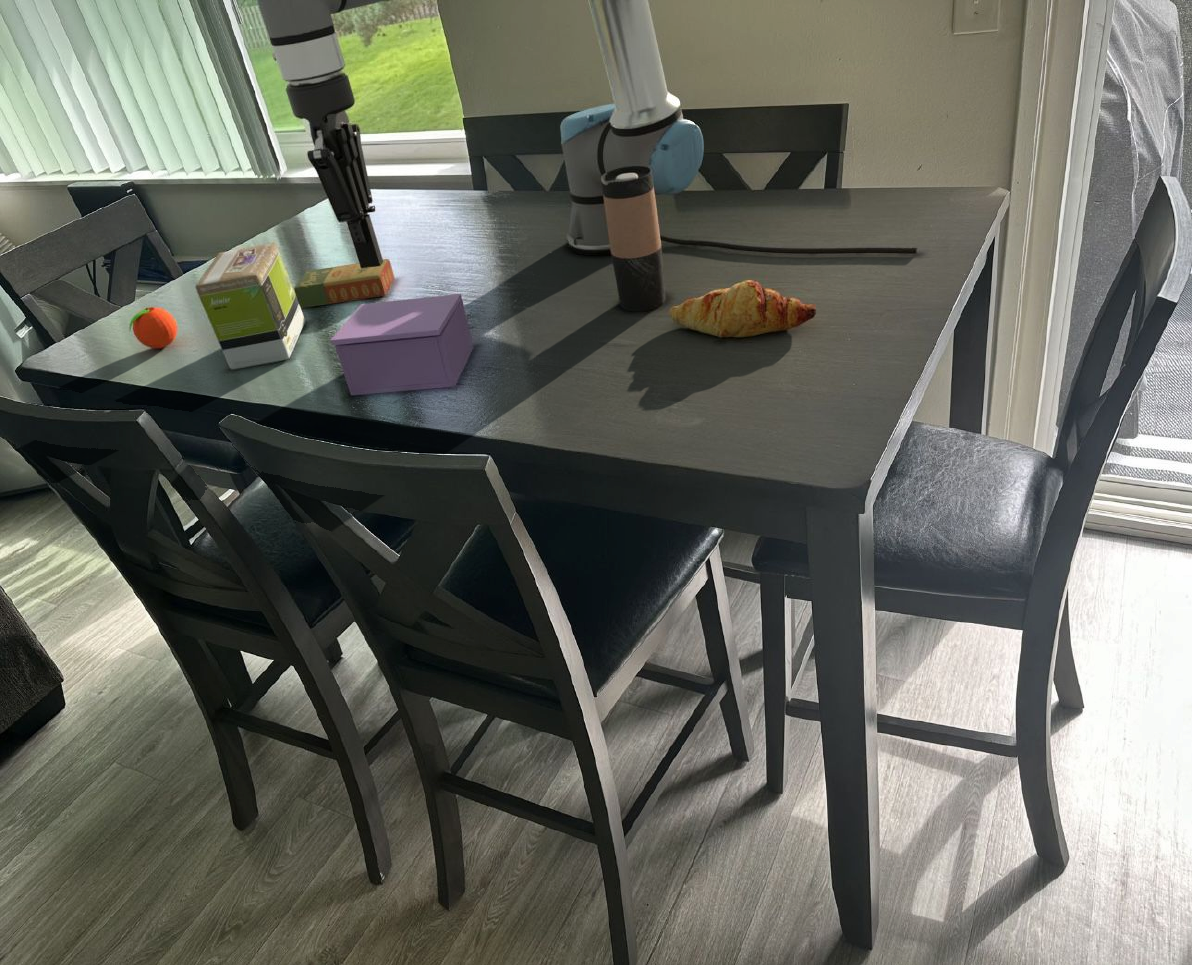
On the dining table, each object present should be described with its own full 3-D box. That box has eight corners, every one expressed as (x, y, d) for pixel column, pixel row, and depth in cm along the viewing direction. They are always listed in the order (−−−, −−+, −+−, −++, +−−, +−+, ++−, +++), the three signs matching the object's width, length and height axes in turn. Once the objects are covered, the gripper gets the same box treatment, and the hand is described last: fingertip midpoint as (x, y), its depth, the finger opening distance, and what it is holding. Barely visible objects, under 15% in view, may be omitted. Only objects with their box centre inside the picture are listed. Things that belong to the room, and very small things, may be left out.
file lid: (439, 335, 126) (438, 329, 125) (331, 345, 128) (329, 340, 128) (462, 298, 137) (461, 293, 137) (362, 308, 140) (360, 303, 139)
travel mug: (672, 291, 147) (658, 164, 136) (659, 312, 142) (643, 180, 131) (627, 292, 150) (609, 166, 139) (612, 312, 144) (592, 183, 133)
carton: (386, 297, 165) (379, 274, 162) (299, 309, 166) (291, 286, 164) (395, 279, 172) (389, 257, 169) (312, 290, 173) (304, 268, 171)
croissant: (668, 354, 137) (654, 321, 130) (680, 299, 141) (667, 264, 134) (814, 354, 129) (808, 319, 122) (823, 296, 133) (817, 259, 127)
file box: (455, 386, 131) (441, 336, 127) (350, 395, 134) (334, 346, 129) (474, 346, 141) (462, 298, 137) (376, 355, 144) (362, 309, 140)
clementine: (153, 360, 156) (135, 321, 152) (129, 355, 160) (111, 317, 156) (192, 339, 162) (175, 301, 158) (167, 335, 165) (151, 298, 161)
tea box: (250, 332, 160) (218, 250, 152) (307, 322, 160) (278, 239, 152) (228, 371, 148) (192, 283, 139) (290, 360, 147) (258, 272, 139)
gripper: (305, 70, 117) (360, 250, 130) (264, 94, 106) (329, 287, 119) (361, 61, 116) (411, 244, 129) (326, 84, 105) (384, 281, 118)
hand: (372, 264), depth 124 cm, fingers closed
